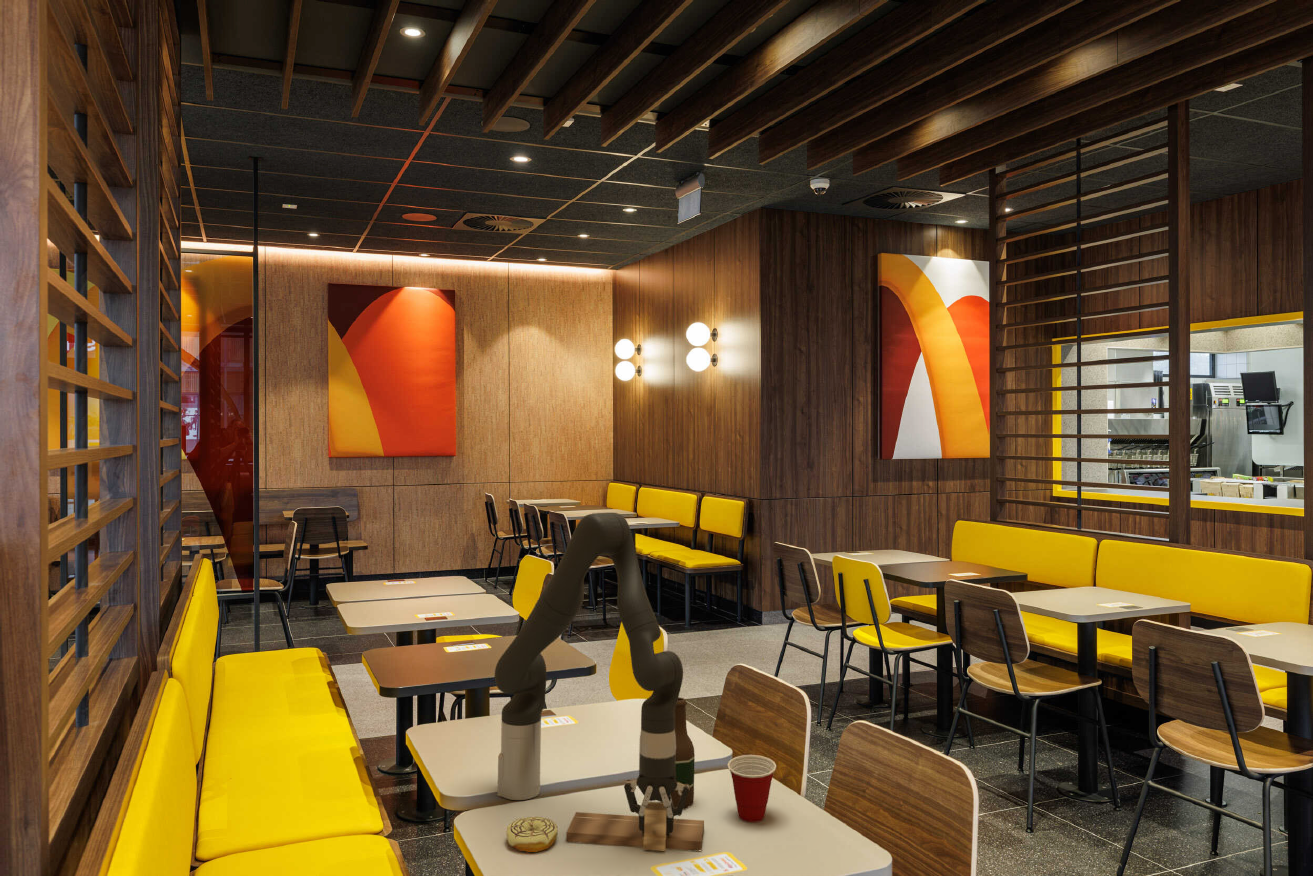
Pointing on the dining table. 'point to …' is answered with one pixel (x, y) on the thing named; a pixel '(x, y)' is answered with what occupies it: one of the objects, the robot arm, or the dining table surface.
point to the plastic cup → (751, 785)
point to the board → (630, 831)
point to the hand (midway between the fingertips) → (656, 832)
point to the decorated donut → (532, 834)
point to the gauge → (655, 827)
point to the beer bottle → (683, 755)
